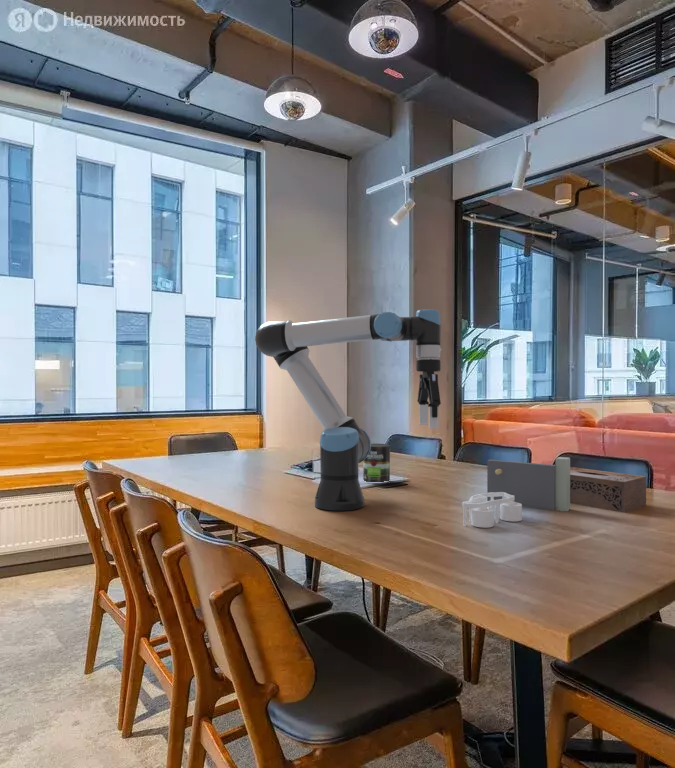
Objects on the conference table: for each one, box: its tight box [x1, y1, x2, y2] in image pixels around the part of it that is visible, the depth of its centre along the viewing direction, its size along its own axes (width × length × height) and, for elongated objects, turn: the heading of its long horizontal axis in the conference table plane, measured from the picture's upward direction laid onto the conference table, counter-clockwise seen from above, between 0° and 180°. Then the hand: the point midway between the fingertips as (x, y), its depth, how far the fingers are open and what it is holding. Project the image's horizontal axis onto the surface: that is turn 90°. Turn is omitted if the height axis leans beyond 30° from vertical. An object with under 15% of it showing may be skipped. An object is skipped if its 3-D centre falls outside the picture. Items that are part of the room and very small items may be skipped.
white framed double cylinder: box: [462, 492, 523, 529], centre depth 155 cm, size 20×11×7 cm, turn 124°
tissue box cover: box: [570, 466, 647, 513], centre depth 179 cm, size 26×14×10 cm, turn 39°
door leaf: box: [486, 456, 571, 512], centre depth 173 cm, size 9×23×16 cm, turn 54°
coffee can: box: [362, 443, 391, 482], centre depth 218 cm, size 10×10×14 cm
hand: (428, 426), depth 182 cm, fingers open, 13 cm apart
